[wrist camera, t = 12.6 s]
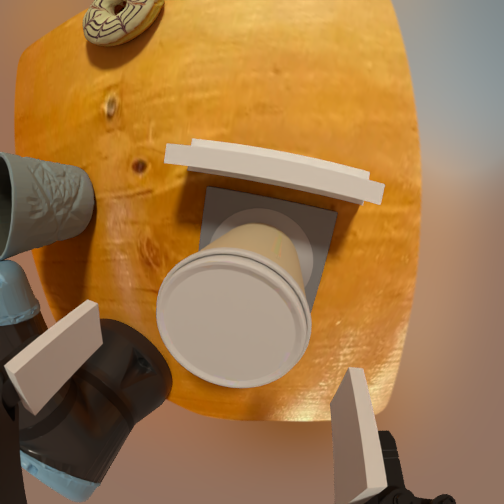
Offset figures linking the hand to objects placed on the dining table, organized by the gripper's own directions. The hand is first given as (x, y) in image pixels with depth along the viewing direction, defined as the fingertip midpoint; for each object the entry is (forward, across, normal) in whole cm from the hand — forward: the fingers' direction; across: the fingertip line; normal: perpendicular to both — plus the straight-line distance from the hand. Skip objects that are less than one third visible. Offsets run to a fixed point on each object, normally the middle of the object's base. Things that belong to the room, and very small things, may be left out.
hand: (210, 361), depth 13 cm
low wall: (+15, 0, -9) cm, 18 cm away
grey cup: (+15, +23, -2) cm, 27 cm away
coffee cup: (+15, 0, 0) cm, 15 cm away
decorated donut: (+16, +20, -26) cm, 36 cm away
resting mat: (+15, 0, 0) cm, 15 cm away
